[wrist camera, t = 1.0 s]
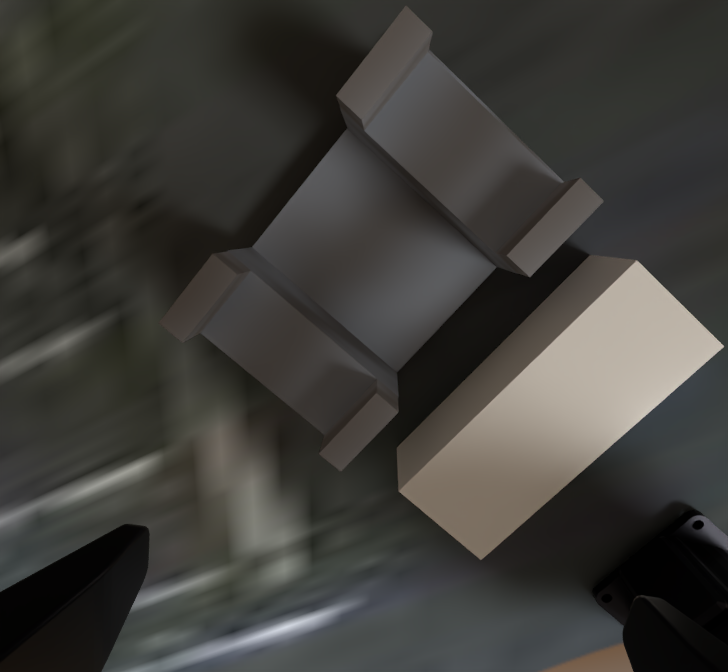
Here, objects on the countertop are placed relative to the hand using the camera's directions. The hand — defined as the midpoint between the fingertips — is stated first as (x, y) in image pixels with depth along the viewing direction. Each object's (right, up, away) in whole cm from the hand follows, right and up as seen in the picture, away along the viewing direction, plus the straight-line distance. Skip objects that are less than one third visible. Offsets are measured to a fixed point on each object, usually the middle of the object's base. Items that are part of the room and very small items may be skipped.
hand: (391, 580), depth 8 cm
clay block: (+7, +2, +13) cm, 14 cm away
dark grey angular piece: (0, +8, +11) cm, 14 cm away
